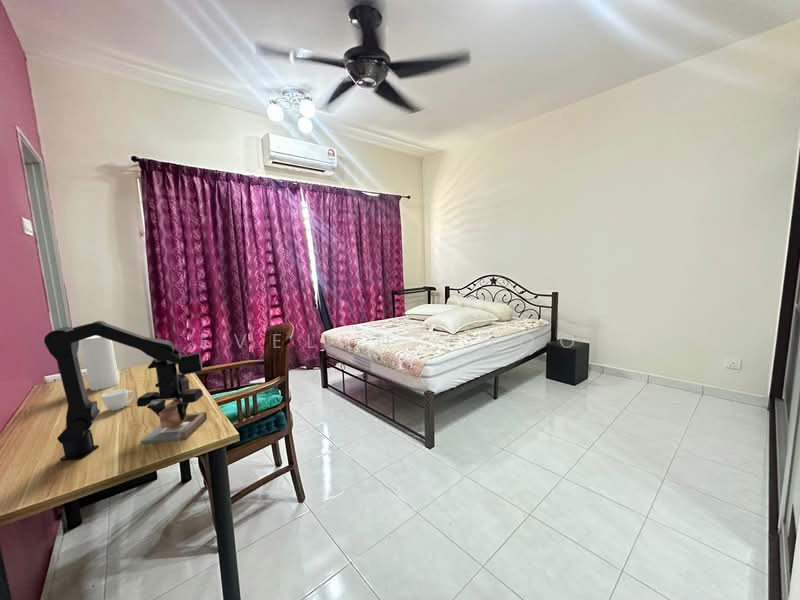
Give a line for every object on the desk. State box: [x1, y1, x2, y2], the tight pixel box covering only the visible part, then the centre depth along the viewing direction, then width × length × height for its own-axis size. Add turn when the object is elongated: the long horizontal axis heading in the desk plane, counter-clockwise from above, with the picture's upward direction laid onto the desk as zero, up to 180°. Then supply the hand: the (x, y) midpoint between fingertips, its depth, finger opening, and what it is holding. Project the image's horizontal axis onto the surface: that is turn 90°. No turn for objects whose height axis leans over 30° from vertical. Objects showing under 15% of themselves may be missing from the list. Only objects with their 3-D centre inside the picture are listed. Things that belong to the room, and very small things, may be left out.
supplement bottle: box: [174, 371, 190, 402], centre depth 140 cm, size 6×6×11 cm
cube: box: [158, 404, 188, 428], centre depth 114 cm, size 6×6×6 cm
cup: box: [101, 388, 136, 412], centre depth 134 cm, size 8×10×7 cm
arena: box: [140, 411, 208, 444], centre depth 114 cm, size 14×14×2 cm
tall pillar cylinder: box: [80, 335, 120, 391], centre depth 159 cm, size 11×11×25 cm
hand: (174, 420), depth 114 cm, fingers closed on cube, 5 cm apart
